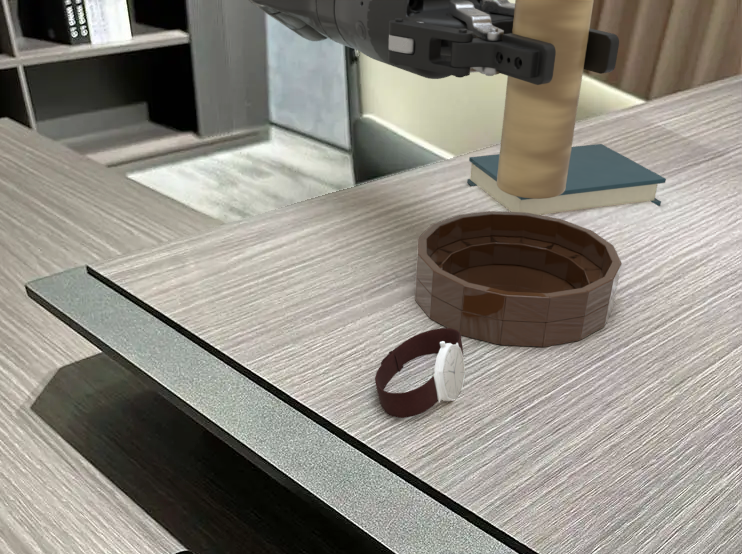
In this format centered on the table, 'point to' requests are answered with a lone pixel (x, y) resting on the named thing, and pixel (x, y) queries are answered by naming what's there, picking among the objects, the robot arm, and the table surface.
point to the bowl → (516, 278)
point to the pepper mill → (544, 101)
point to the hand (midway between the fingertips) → (581, 60)
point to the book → (577, 182)
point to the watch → (438, 388)
